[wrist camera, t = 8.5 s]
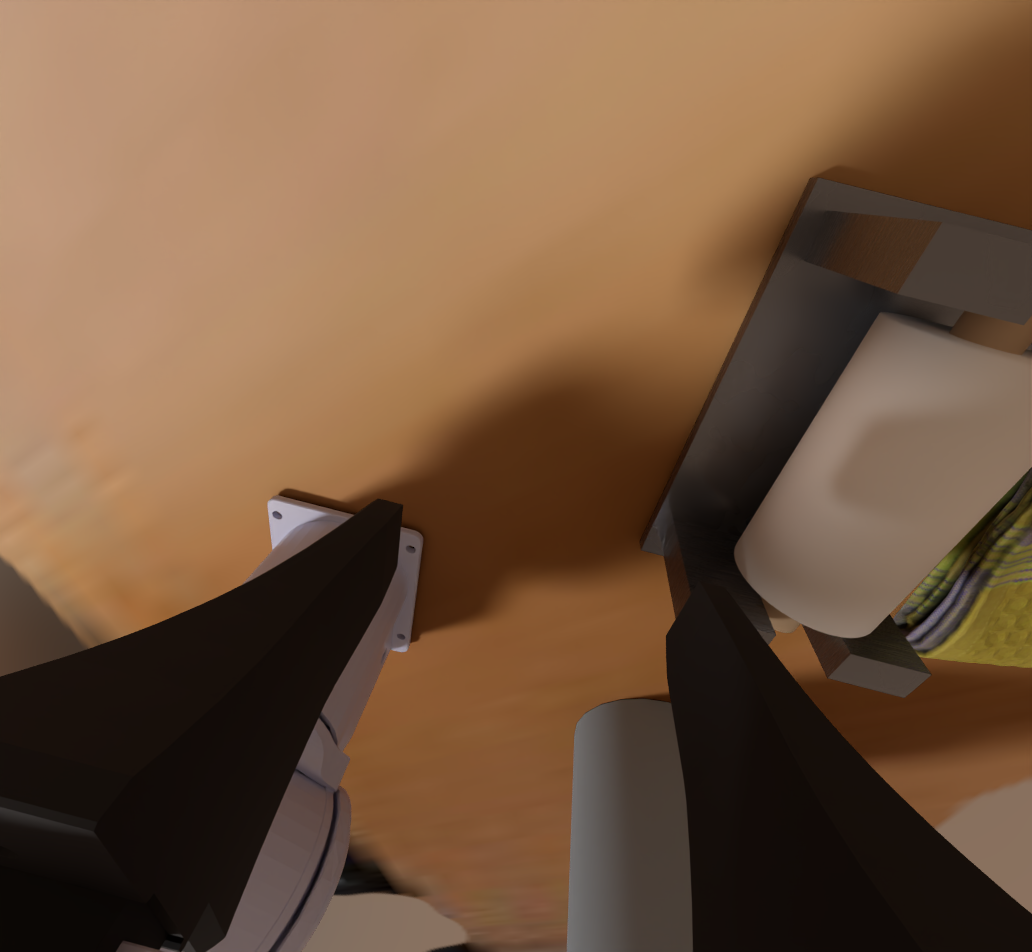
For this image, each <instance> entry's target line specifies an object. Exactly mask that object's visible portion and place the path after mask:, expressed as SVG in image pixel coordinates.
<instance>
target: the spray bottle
mask: <svg viewBox="0 0 1032 952" xmlns="http://www.w3.org/2000/svg"><path fill="white" fill-rule="evenodd" d="M567 952H693V934H692V894H691V872H690V850H689V835H688V820H687V805H686V795H685V787H684V779H683V772H682V766H681V760H680V754H679V748H678V742H677V736H676V730H675V724H674V718H673V712H672V706H671V703H669V702H663V701H656V700H649V699H625V700H618V701H614V702H610V703H606V704H601V705H599V706H598V707H596V708H594V709H592V710H590V711H588V712H587V713H585V714H584V716H583V717H582V718H581V719H580V720H579V722H578V723H577V725H576V730H575V737H574V765H573V794H572V822H571V850H570V878H569V907H568V935H567Z"/></svg>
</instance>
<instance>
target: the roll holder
mask: <svg viewBox="0 0 1032 952" xmlns="http://www.w3.org/2000/svg"><path fill="white" fill-rule="evenodd" d="M964 311H968V312H972V313H976V314H980V315H984V316H988V317H992V318H996V319H1000V320H1004V321H1008V322H1012V323H1016V324H1020V325H1025V323H1026V322H1027V321H1028V320H1029V318H1030V317H1031V316H1032V230H1028V229H1024V228H1020V227H1016V226H1012V225H1008V224H1004V223H1000V222H996V221H992V220H988V219H984V218H980V217H976V216H972V215H968V214H964V213H960V212H955V211H951V210H947V209H943V208H939V207H935V206H931V205H927V204H923V203H919V202H915V201H911V200H907V199H903V198H899V197H895V196H891V195H887V194H883V193H879V192H875V191H871V190H867V189H862V188H858V187H854V186H850V185H846V184H842V183H838V182H834V181H830V180H826V179H822V178H810V180H809V182H808V184H807V186H806V188H805V191H804V193H803V195H802V197H801V199H800V201H799V203H798V206H797V208H796V210H795V212H794V214H793V216H792V218H791V220H790V223H789V225H788V227H787V229H786V231H785V233H784V235H783V237H782V240H781V242H780V244H779V246H778V248H777V250H776V252H775V255H774V257H773V259H772V261H771V263H770V265H769V267H768V269H767V272H766V274H765V276H764V278H763V280H762V282H761V284H760V287H759V289H758V291H757V293H756V295H755V297H754V299H753V301H752V304H751V306H750V308H749V310H748V312H747V314H746V316H745V319H744V321H743V323H742V325H741V327H740V329H739V331H738V333H737V336H736V338H735V340H734V342H733V344H732V346H731V348H730V351H729V353H728V355H727V357H726V359H725V361H724V363H723V365H722V368H721V370H720V372H719V374H718V376H717V378H716V380H715V383H714V385H713V387H712V389H711V391H710V393H709V395H708V397H707V400H706V402H705V404H704V406H703V408H702V410H701V412H700V415H699V417H698V419H697V421H696V423H695V425H694V427H693V429H692V432H691V434H690V436H689V438H688V440H687V442H686V444H685V447H684V449H683V451H682V453H681V455H680V457H679V459H678V461H677V464H676V466H675V468H674V470H673V472H672V474H671V476H670V479H669V481H668V483H667V485H666V487H665V489H664V491H663V493H662V496H661V498H660V500H659V502H658V504H657V506H656V508H655V510H654V513H653V515H652V517H651V519H650V521H649V523H648V525H647V528H646V530H645V532H644V534H643V536H642V538H641V540H640V547H641V550H642V551H646V552H650V553H654V554H658V555H662V556H664V560H665V565H666V570H667V576H668V581H669V586H670V592H671V597H672V602H673V607H674V613H675V618H677V617H678V615H679V613H680V612H681V610H682V608H683V607H684V605H685V603H686V602H687V600H688V598H689V596H690V595H691V593H692V591H693V590H694V588H695V586H696V585H697V583H698V581H703V582H706V583H710V584H714V585H718V586H722V587H725V589H726V590H727V591H728V592H729V593H730V595H731V596H732V597H733V599H734V600H735V601H736V603H737V604H738V605H739V606H740V608H741V609H742V611H743V612H744V613H745V615H746V616H747V617H748V619H749V620H750V621H751V623H752V624H753V625H754V627H755V628H756V629H757V631H758V632H759V633H760V635H761V636H762V638H763V639H764V640H765V642H766V643H767V644H769V643H770V642H771V641H772V639H773V638H774V637H775V636H776V634H775V631H774V629H773V626H772V624H771V621H770V619H769V616H768V614H767V611H766V609H765V606H764V604H763V602H762V599H761V597H760V595H759V594H758V593H757V592H756V591H755V590H754V589H753V588H752V587H751V586H750V584H749V583H748V582H747V581H746V579H745V578H744V577H743V575H742V574H741V572H740V570H739V568H738V566H737V564H736V561H735V557H734V549H735V546H736V544H737V542H738V540H739V539H740V537H741V536H742V534H743V532H744V531H745V529H746V527H747V526H748V524H749V523H750V521H751V519H752V518H753V516H754V515H755V513H756V511H757V510H758V508H759V507H760V505H761V503H762V502H763V500H764V498H765V497H766V495H767V494H768V492H769V490H770V489H771V487H772V486H773V484H774V482H775V481H776V479H777V477H778V476H779V474H780V473H781V471H782V469H783V468H784V466H785V465H786V463H787V461H788V460H789V458H790V457H791V455H792V453H793V452H794V450H795V448H796V447H797V445H798V444H799V442H800V440H801V439H802V437H803V436H804V434H805V432H806V431H807V429H808V427H809V426H810V424H811V423H812V421H813V419H814V418H815V416H816V415H817V413H818V411H819V410H820V408H821V406H822V405H823V403H824V402H825V400H826V398H827V397H828V395H829V394H830V392H831V390H832V389H833V387H834V386H835V384H836V382H837V381H838V379H839V377H840V376H841V374H842V373H843V371H844V369H845V368H846V366H847V365H848V363H849V361H850V360H851V358H852V356H853V355H854V353H855V352H856V350H857V348H858V347H859V345H860V344H861V342H862V340H863V339H864V337H865V336H866V334H867V332H868V331H869V329H870V327H871V326H872V324H873V323H874V321H875V319H876V318H877V316H878V315H879V313H880V312H889V313H896V314H901V315H906V316H911V317H915V318H919V319H923V320H928V321H931V322H935V323H939V324H943V325H947V326H951V327H953V326H954V325H955V323H956V322H957V320H958V319H959V318H960V316H961V315H962V314H963V312H964ZM1027 349H1028V350H1031V351H1032V343H1031V344H1030V346H1029V347H1028V348H1027ZM802 626H803V628H804V630H805V632H806V634H807V636H808V638H809V640H810V642H811V645H812V647H813V649H814V651H815V653H816V655H817V657H818V659H819V661H820V663H821V666H822V668H823V670H824V672H825V674H826V676H827V678H829V679H833V680H837V681H840V682H844V683H848V684H852V685H856V686H860V687H864V688H868V689H872V690H875V691H879V692H883V693H887V694H891V695H895V696H899V697H903V698H905V697H906V696H907V695H909V694H910V693H911V692H912V691H913V690H914V689H916V688H917V687H918V686H919V685H920V684H921V683H923V682H924V681H925V680H926V679H927V678H928V677H930V676H931V673H930V672H929V670H928V669H927V668H926V666H925V665H924V663H923V662H922V660H921V659H920V657H919V656H918V655H917V653H916V652H915V650H914V649H913V647H912V646H911V644H910V643H909V642H908V640H907V639H906V637H905V636H904V634H903V633H902V631H901V630H900V629H899V627H898V626H897V624H896V623H895V621H894V620H893V618H892V617H891V616H890V614H889V615H888V616H887V617H886V618H885V619H884V620H883V621H882V622H881V623H880V624H879V625H878V626H877V627H876V628H875V629H874V630H873V631H872V632H871V633H870V634H868V635H866V636H863V637H859V638H844V637H838V636H833V635H829V634H826V633H822V632H820V631H817V630H814V629H812V628H810V627H807V626H805V625H803V624H802Z"/></svg>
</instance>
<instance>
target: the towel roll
mask: <svg viewBox="0 0 1032 952" xmlns="http://www.w3.org/2000/svg"><path fill="white" fill-rule="evenodd" d="M1031 343H1032V316H1031V317H1030V318H1029V320H1028V321H1027V322H1026V323H1025V325H1020V324H1016V323H1012V322H1008V321H1004V320H1000V319H996V318H992V317H988V316H984V315H980V314H976V313H972V312H968V311H964V312H963V314H962V315H961V316H960V318H959V319H958V320H957V322H956V323H955V325H954V326H953V327H951V326H947V325H943V324H939V323H935V322H931V321H928V320H923V319H919V318H915V317H911V316H906V315H901V314H896V313H889V312H880V313H879V315H878V316H877V318H876V319H875V321H874V323H873V324H872V326H871V327H870V329H869V331H868V332H867V334H866V336H865V337H864V339H863V340H862V342H861V344H860V345H859V347H858V348H857V350H856V352H855V353H854V355H853V356H852V358H851V360H850V361H849V363H848V365H847V366H846V368H845V369H844V371H843V373H842V374H841V376H840V377H839V379H838V381H837V382H836V384H835V386H834V387H833V389H832V390H831V392H830V394H829V395H828V397H827V398H826V400H825V402H824V403H823V405H822V406H821V408H820V410H819V411H818V413H817V415H816V416H815V418H814V419H813V421H812V423H811V424H810V426H809V427H808V429H807V431H806V432H805V434H804V436H803V437H802V439H801V440H800V442H799V444H798V445H797V447H796V448H795V450H794V452H793V453H792V455H791V457H790V458H789V460H788V461H787V463H786V465H785V466H784V468H783V469H782V471H781V473H780V474H779V476H778V477H777V479H776V481H775V482H774V484H773V486H772V487H771V489H770V490H769V492H768V494H767V495H766V497H765V498H764V500H763V502H762V503H761V505H760V507H759V508H758V510H757V511H756V513H755V515H754V516H753V518H752V519H751V521H750V523H749V524H748V526H747V527H746V529H745V531H744V532H743V534H742V536H741V537H740V539H739V540H738V542H737V544H736V546H735V549H734V557H735V561H736V564H737V566H738V568H739V570H740V572H741V574H742V575H743V577H744V578H745V579H746V581H747V582H748V583H749V584H750V586H751V587H752V588H753V589H754V590H755V591H756V592H757V593H758V594H759V595H760V597H761V599H762V602H763V604H764V606H765V609H766V611H767V614H768V616H769V619H770V621H771V624H772V626H773V629H775V630H777V631H780V632H784V633H791V632H793V631H795V630H796V628H797V627H798V626H799V625H800V623H801V624H803V625H805V626H807V627H810V628H812V629H814V630H817V631H820V632H822V633H826V634H829V635H833V636H838V637H844V638H859V637H863V636H866V635H868V634H870V633H871V632H872V631H873V630H874V629H875V628H876V627H877V626H878V625H879V624H880V623H881V622H882V621H883V620H884V619H885V618H886V617H887V616H888V615H889V614H890V613H891V612H892V611H893V610H894V609H895V608H896V607H897V606H898V605H899V604H900V603H901V601H902V600H903V599H904V598H905V597H906V596H907V595H908V594H909V593H910V592H911V591H912V590H913V589H914V588H915V587H916V586H917V585H918V584H919V583H920V582H921V581H922V580H923V579H924V578H925V577H926V576H927V575H928V574H929V573H930V572H931V570H932V569H933V568H934V567H935V566H936V565H937V564H938V563H939V562H940V561H941V560H942V559H943V558H944V557H945V556H946V555H947V554H948V553H949V552H950V551H951V550H952V549H953V548H954V547H955V546H956V545H957V544H958V543H959V542H960V541H961V539H962V538H963V537H964V536H965V535H966V534H967V533H968V532H969V531H970V530H971V529H972V528H973V527H974V526H975V525H976V524H977V523H978V522H979V521H980V520H981V519H982V518H983V517H984V516H985V515H986V514H987V513H988V512H989V511H990V510H991V508H992V507H993V506H994V505H995V504H996V503H997V502H998V501H999V500H1000V499H1001V498H1002V497H1003V496H1004V495H1005V494H1006V493H1007V492H1008V491H1009V490H1010V489H1011V488H1012V487H1013V486H1014V485H1015V484H1016V483H1017V482H1018V481H1019V480H1020V479H1021V477H1022V476H1023V475H1024V474H1025V473H1026V472H1027V471H1028V470H1029V469H1030V468H1031V467H1032V351H1031V350H1028V349H1027V348H1028V347H1029V346H1030V344H1031Z"/></svg>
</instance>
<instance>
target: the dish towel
mask: <svg viewBox="0 0 1032 952" xmlns="http://www.w3.org/2000/svg"><path fill="white" fill-rule="evenodd" d="M893 620H894V621H895V623H896V624H897V626H898V627H899V629H900V630H901V631H902V633H903V634H904V636H905V637H906V639H907V640H908V642H909V643H910V644H911V646H912V647H913V649H914V650H915V652H916V653H917V655H918V656H919V657H925V658H933V659H941V660H950V661H957V662H969V663H979V664H993V665H998V666H1016V667H1022V668H1032V467H1031V468H1030V469H1029V470H1028V471H1027V472H1026V473H1025V474H1024V475H1023V476H1022V477H1021V479H1020V480H1019V481H1018V482H1017V483H1016V484H1015V485H1014V486H1013V487H1012V488H1011V489H1010V490H1009V491H1008V492H1007V493H1006V494H1005V495H1004V496H1003V497H1002V498H1001V499H1000V500H999V501H998V502H997V503H996V504H995V505H994V506H993V507H992V508H991V510H990V511H989V512H988V513H987V514H986V515H985V516H984V517H983V518H982V519H981V520H980V521H979V522H978V523H977V524H976V525H975V526H974V527H973V528H972V529H971V530H970V531H969V532H968V533H967V534H966V535H965V536H964V537H963V538H962V539H961V541H960V542H959V543H958V544H957V545H956V546H955V547H954V548H953V549H952V550H951V551H950V552H949V553H948V554H947V555H946V556H945V557H944V558H943V559H942V560H941V561H940V562H939V563H938V564H937V565H936V566H935V567H934V569H933V570H932V571H931V572H930V573H929V574H928V575H927V577H926V578H925V579H924V581H923V582H922V583H921V584H920V586H919V587H918V588H917V589H916V590H915V591H914V593H913V594H912V595H911V597H910V598H909V599H908V601H907V602H906V603H905V604H904V606H903V607H902V608H901V610H899V611H898V613H897V614H896V615H895V617H894V619H893Z"/></svg>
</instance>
